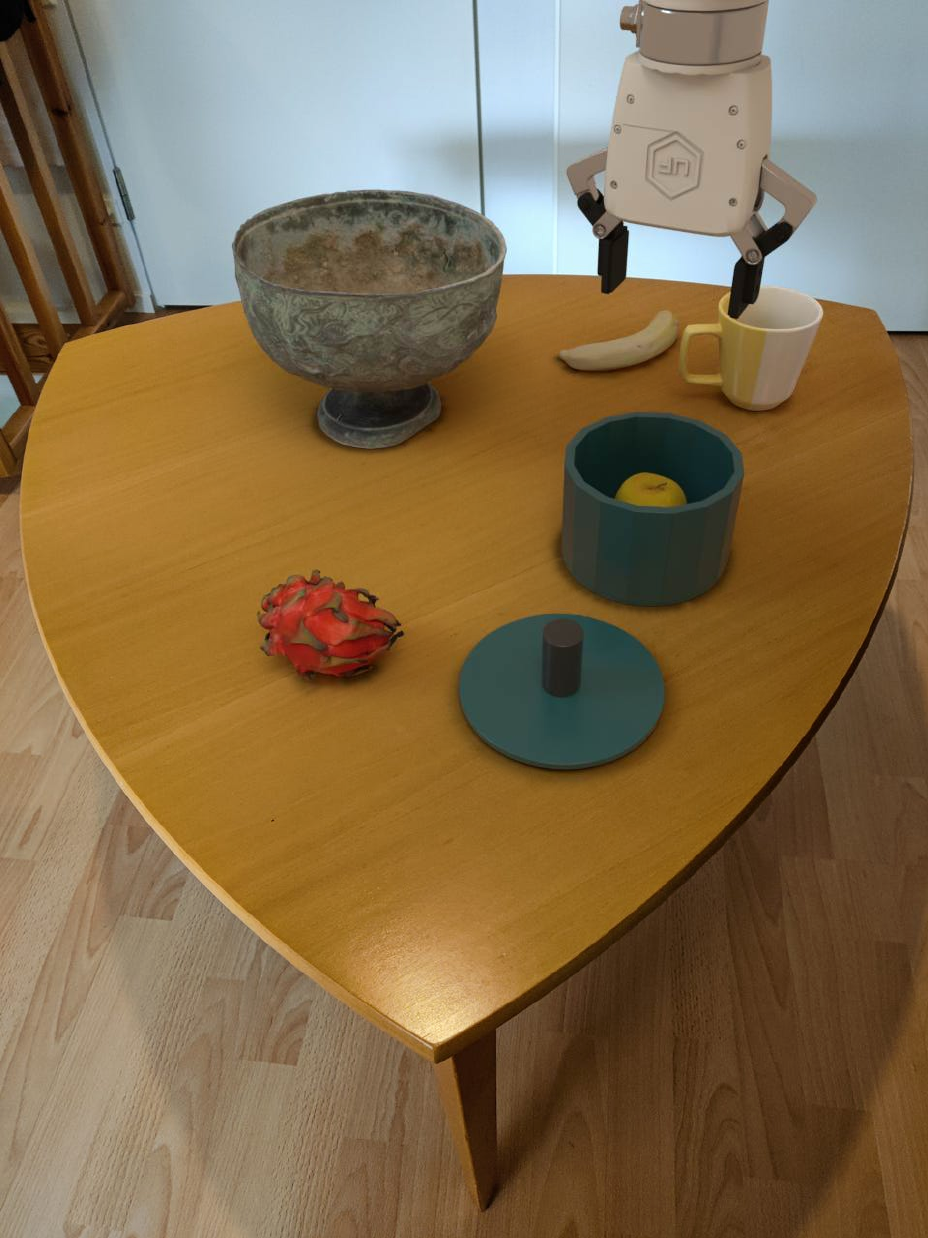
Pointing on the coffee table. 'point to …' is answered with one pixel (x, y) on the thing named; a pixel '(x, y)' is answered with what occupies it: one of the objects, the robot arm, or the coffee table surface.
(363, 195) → the decorative bowl
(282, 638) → the dragon fruit
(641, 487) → the apple
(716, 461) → the pot
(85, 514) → the coffee table surface
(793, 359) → the mug
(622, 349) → the fruit
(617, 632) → the lid
